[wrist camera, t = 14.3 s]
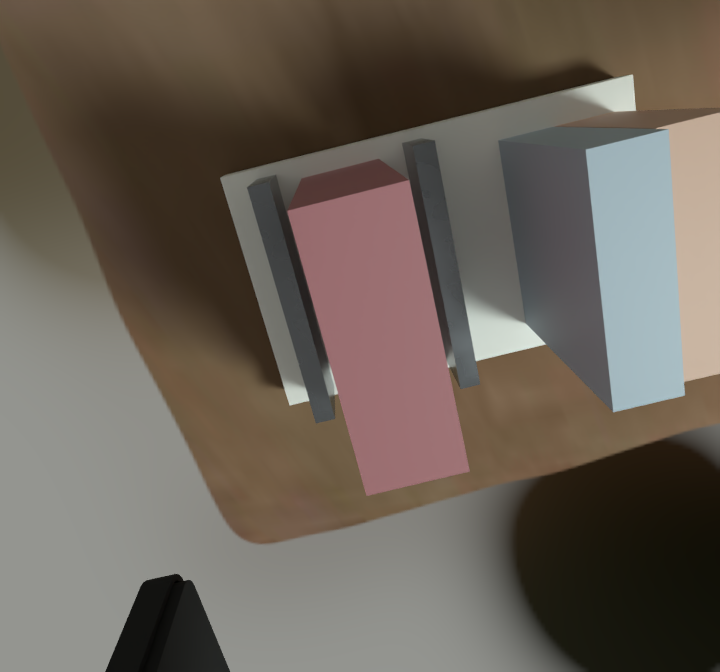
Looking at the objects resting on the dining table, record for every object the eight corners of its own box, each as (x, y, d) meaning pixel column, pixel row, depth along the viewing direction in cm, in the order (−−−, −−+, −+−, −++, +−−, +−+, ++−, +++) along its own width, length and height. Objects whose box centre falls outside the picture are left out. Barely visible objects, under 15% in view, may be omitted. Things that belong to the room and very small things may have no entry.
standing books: (613, 111, 30) (761, 106, 20) (630, 298, 34) (764, 376, 23) (498, 140, 31) (585, 149, 20) (525, 323, 34) (613, 412, 24)
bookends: (421, 138, 30) (434, 140, 27) (463, 355, 34) (480, 384, 31) (256, 179, 31) (246, 187, 27) (317, 390, 35) (315, 423, 31)
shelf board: (614, 77, 32) (632, 74, 30) (634, 308, 36) (651, 319, 34) (226, 174, 32) (220, 177, 31) (291, 390, 37) (289, 405, 35)
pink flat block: (378, 158, 31) (409, 179, 19) (422, 356, 34) (469, 471, 23) (301, 178, 31) (286, 210, 19) (353, 373, 34) (366, 495, 23)
